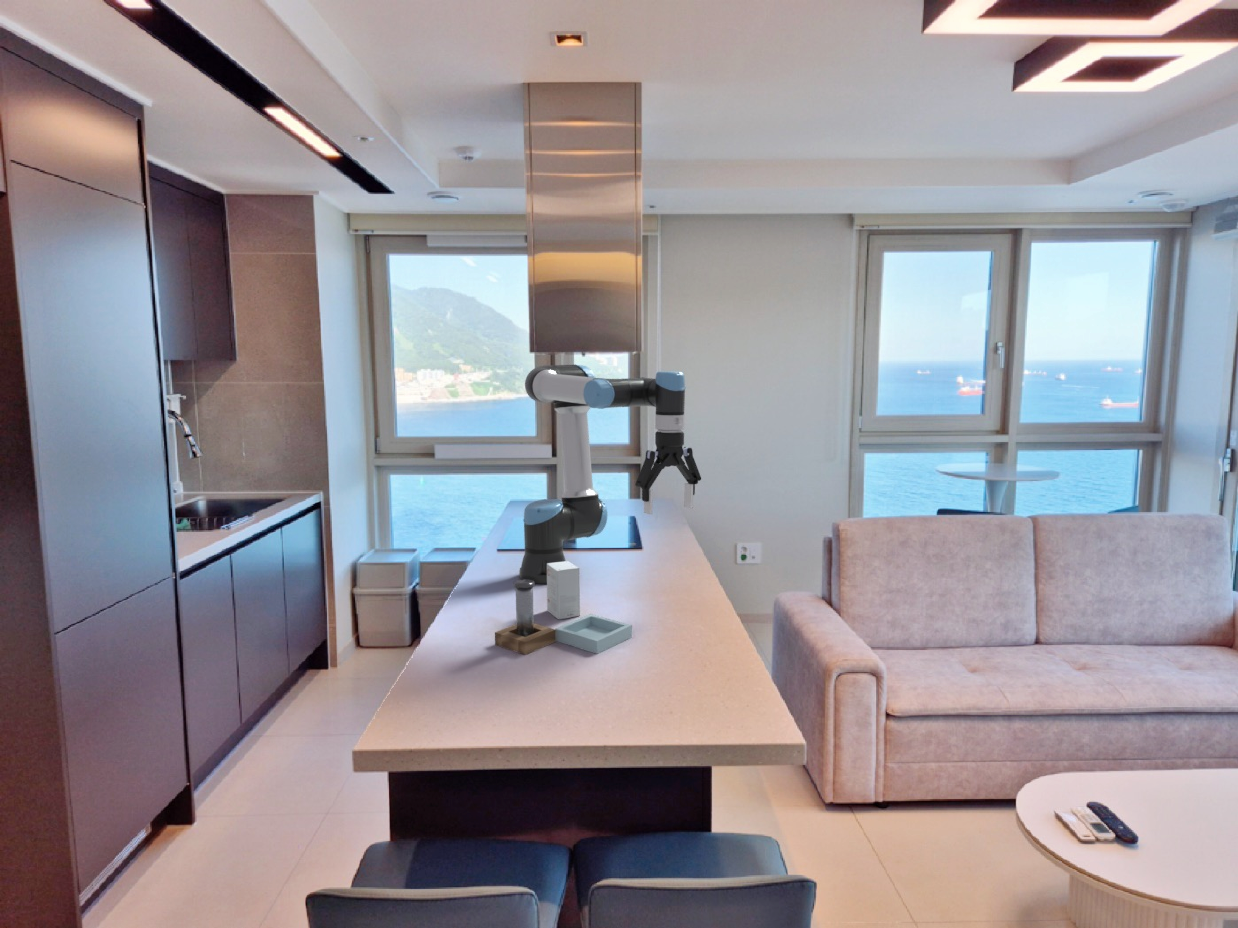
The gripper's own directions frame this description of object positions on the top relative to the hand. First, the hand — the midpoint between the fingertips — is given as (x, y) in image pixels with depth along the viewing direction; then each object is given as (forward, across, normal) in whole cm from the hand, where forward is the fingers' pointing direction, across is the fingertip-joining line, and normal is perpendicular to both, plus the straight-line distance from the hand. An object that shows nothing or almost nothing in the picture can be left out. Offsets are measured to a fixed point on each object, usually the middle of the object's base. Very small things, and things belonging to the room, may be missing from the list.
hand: (668, 510), depth 200 cm
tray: (+26, -29, -9) cm, 40 cm away
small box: (+27, -26, +11) cm, 39 cm away
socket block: (+26, -44, -2) cm, 51 cm away
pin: (+26, -44, -2) cm, 51 cm away
